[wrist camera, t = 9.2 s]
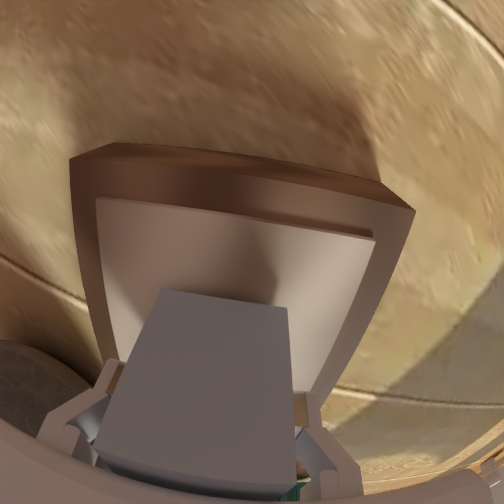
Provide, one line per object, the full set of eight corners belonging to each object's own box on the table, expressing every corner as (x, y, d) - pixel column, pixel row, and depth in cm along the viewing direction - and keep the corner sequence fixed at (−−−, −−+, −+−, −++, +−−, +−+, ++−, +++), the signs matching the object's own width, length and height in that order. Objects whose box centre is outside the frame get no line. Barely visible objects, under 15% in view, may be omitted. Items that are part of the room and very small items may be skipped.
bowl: (-24, 274, 18) (-107, 373, 5) (161, 352, 20) (106, 540, 7) (25, 390, 28) (-13, 467, 15) (156, 445, 30) (134, 542, 17)
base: (381, 183, 14) (419, 214, 10) (312, 367, 20) (318, 415, 17) (112, 142, 13) (65, 160, 9) (127, 338, 20) (107, 381, 16)
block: (287, 307, 11) (296, 484, 5) (264, 381, 14) (259, 512, 8) (161, 287, 11) (92, 446, 5) (166, 365, 14) (130, 490, 7)
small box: (493, 458, 50) (500, 480, 41) (480, 466, 52) (486, 489, 43) (493, 456, 48) (501, 479, 39) (479, 464, 50) (486, 488, 40)
